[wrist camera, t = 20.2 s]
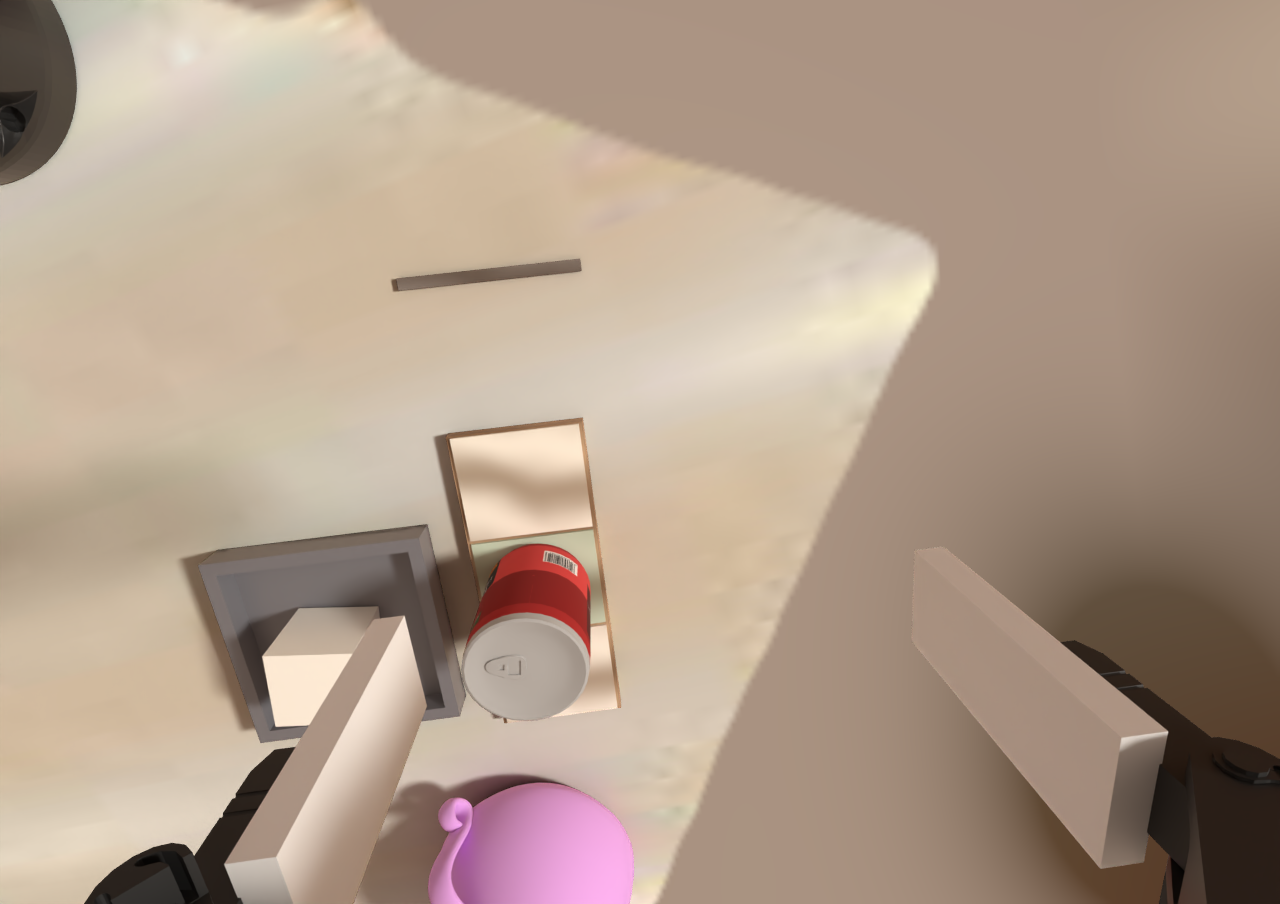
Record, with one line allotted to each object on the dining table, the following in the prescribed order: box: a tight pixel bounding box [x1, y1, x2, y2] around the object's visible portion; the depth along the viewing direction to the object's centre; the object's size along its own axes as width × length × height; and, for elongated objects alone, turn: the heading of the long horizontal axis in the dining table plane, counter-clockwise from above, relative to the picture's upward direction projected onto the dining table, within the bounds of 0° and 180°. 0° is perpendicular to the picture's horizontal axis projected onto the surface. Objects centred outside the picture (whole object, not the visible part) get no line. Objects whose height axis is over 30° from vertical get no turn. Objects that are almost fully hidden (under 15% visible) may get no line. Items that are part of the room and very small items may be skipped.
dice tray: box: [198, 524, 466, 743], centre depth 49 cm, size 16×16×2 cm
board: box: [396, 259, 621, 723], centre depth 48 cm, size 37×13×1 cm, turn 6°
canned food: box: [461, 544, 591, 721], centre depth 44 cm, size 8×8×11 cm
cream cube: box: [262, 606, 380, 727], centre depth 47 cm, size 6×6×6 cm
